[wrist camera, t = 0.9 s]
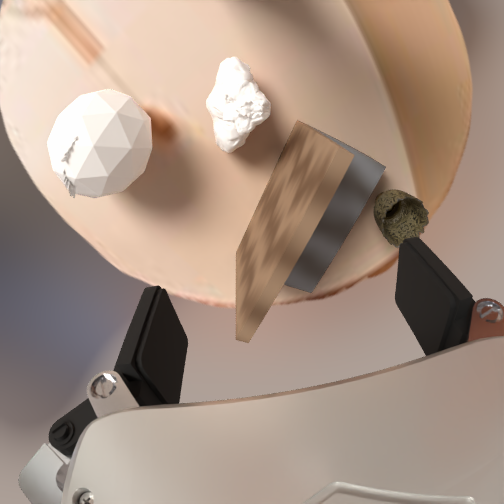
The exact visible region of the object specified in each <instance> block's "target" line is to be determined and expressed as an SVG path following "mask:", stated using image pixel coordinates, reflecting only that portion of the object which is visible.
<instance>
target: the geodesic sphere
mask: <svg viewBox="0 0 504 504" xmlns="http://www.w3.org/2000/svg"><path fill="white" fill-rule="evenodd" d="M47 144H48V149H49V154H50V158H51V163H52V167H53V171H54V172H55V173H56V175H57V176H58V177H59V179H60V180H61V181H62V182H63V184H64V185H65V186H66V188H67V189H68V190H69V193H70V196H71V195H72V196H73V197H74V198H75V194H79V195H83V196H87V197H92V198H98V197H102V196H106V195H110V194H115V193H119V192H123V191H124V190H125V189H126V188H127V187H128V186H129V185H130V184H131V183H132V182H134V181H135V180H136V179H137V178H138V177H139V176H140V175H141V174H142V173H143V172H145V169H146V166H147V163H148V160H149V157H150V154H151V151H152V132H151V118H150V117H149V116H148V115H147V113H146V112H145V111H144V110H143V109H142V108H141V107H140V106H139V105H138V104H137V103H136V101H135V100H134V99H133V98H132V97H131V96H128V95H126V94H123V93H120V92H118V91H115V90H112V89H106V90H101V91H97V92H92V93H88V94H84V95H80V96H79V97H78V98H77V99H76V100H75V101H73V102H72V103H71V104H70V105H69V106H68V107H67V108H66V109H65V110H64V111H63V112H62V113H61V114H60V115H59V116H58V118H57V120H56V122H55V125H54V127H53V129H52V132H51V134H50V137H49V139H48V142H47Z"/></svg>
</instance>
